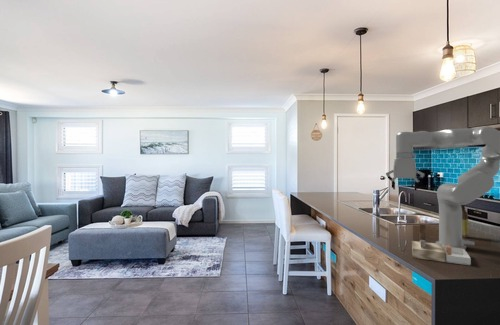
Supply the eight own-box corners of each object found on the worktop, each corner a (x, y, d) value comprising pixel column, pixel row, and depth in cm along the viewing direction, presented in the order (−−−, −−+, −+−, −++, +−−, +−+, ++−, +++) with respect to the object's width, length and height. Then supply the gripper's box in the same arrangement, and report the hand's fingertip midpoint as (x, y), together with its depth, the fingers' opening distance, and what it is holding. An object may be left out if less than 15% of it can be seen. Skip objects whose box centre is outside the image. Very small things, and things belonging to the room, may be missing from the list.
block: (445, 254, 126) (449, 255, 125) (447, 257, 122) (451, 258, 121) (445, 244, 126) (449, 245, 125) (447, 247, 122) (451, 247, 121)
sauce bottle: (462, 235, 162) (462, 200, 162) (471, 238, 155) (471, 202, 155) (451, 235, 161) (451, 200, 161) (460, 238, 155) (459, 202, 155)
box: (464, 255, 126) (464, 249, 126) (470, 265, 114) (470, 258, 114) (442, 252, 130) (442, 246, 130) (446, 262, 118) (446, 255, 118)
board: (441, 252, 130) (441, 244, 130) (445, 262, 118) (445, 252, 118) (411, 249, 136) (411, 240, 136) (412, 257, 124) (412, 248, 124)
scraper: (424, 243, 132) (424, 222, 132) (426, 248, 124) (426, 226, 124) (419, 242, 133) (418, 221, 133) (419, 247, 125) (419, 225, 125)
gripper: (423, 156, 142) (424, 189, 142) (386, 156, 150) (386, 188, 150) (424, 155, 136) (425, 191, 136) (385, 156, 144) (385, 189, 144)
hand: (404, 189), depth 143 cm, fingers open, 9 cm apart
